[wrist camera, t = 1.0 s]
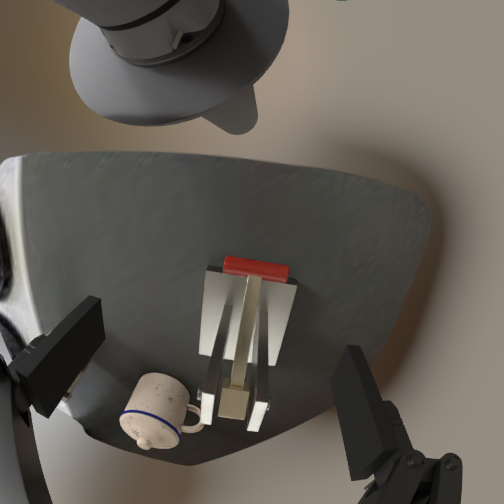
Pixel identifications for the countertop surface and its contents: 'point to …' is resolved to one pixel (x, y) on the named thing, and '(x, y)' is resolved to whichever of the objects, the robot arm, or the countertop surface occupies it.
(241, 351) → the lever
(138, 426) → the teacup with lid
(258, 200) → the countertop surface
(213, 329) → the bracket
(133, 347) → the countertop surface
